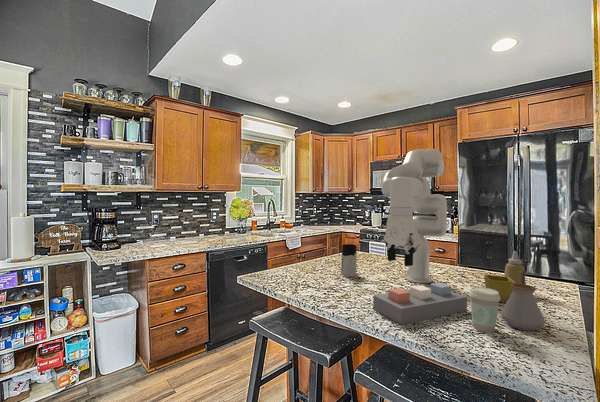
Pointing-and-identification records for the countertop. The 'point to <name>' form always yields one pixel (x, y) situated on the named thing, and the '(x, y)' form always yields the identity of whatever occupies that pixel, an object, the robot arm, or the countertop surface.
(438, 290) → the key blue
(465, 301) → the console
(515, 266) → the squeeze bottle
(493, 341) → the countertop surface
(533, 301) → the coffee pot
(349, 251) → the glass holder
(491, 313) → the coffee cup
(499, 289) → the flower pot
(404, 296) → the key red
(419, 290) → the key white
